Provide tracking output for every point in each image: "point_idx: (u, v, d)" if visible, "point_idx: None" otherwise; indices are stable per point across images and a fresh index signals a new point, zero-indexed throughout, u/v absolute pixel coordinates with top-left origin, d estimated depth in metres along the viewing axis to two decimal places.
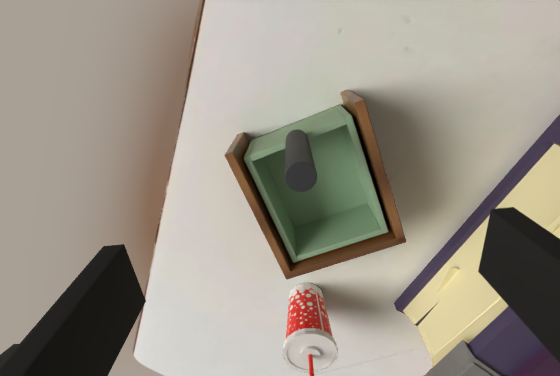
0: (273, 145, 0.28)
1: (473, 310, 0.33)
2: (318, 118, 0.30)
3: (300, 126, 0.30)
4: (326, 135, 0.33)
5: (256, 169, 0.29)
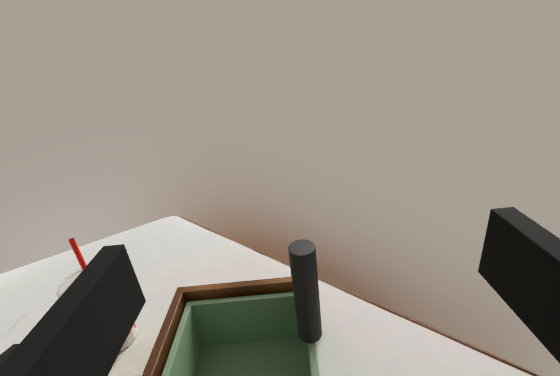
0: None
1: None
2: None
3: None
4: None
5: (293, 298, 0.31)
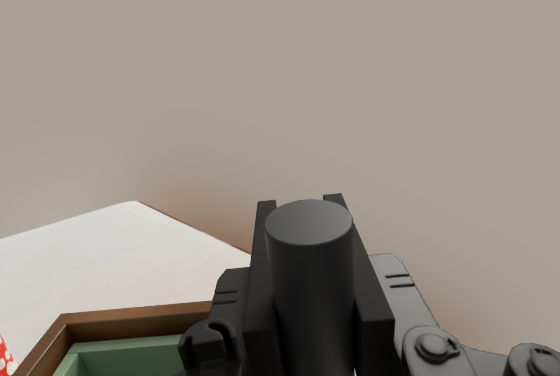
0: None
1: None
2: None
3: None
4: None
5: None
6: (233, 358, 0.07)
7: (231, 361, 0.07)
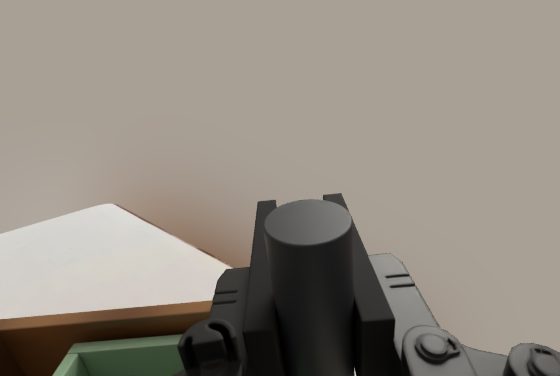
0: None
1: None
2: None
3: None
4: None
5: None
6: (233, 358, 0.07)
7: (231, 361, 0.07)
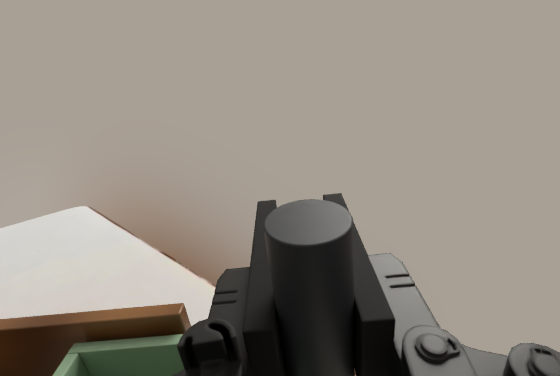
0: None
1: None
2: None
3: None
4: None
5: None
6: (233, 358, 0.07)
7: (231, 361, 0.07)
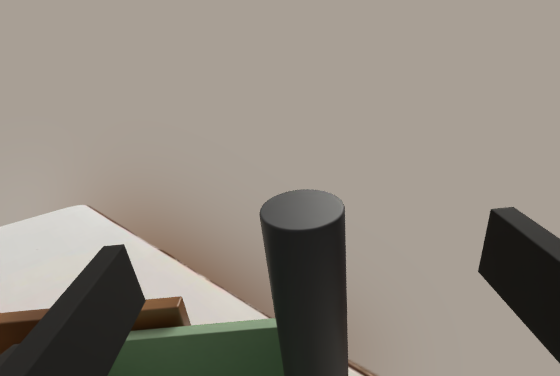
0: None
1: None
2: None
3: None
4: None
5: None
6: None
7: None
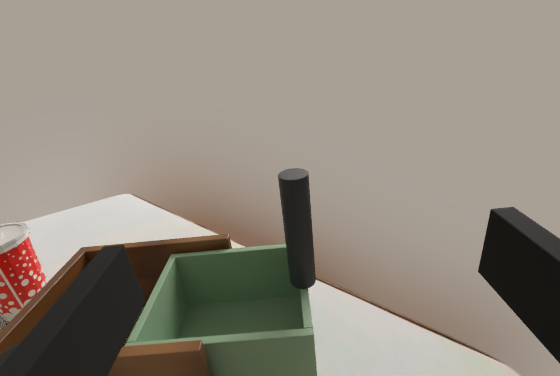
0: None
1: None
2: None
3: None
4: None
5: (285, 250, 0.28)
6: None
7: None
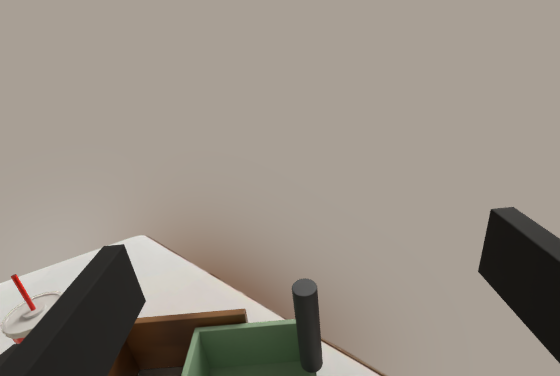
0: None
1: None
2: None
3: None
4: None
5: (295, 325, 0.33)
6: None
7: None
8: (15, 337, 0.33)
